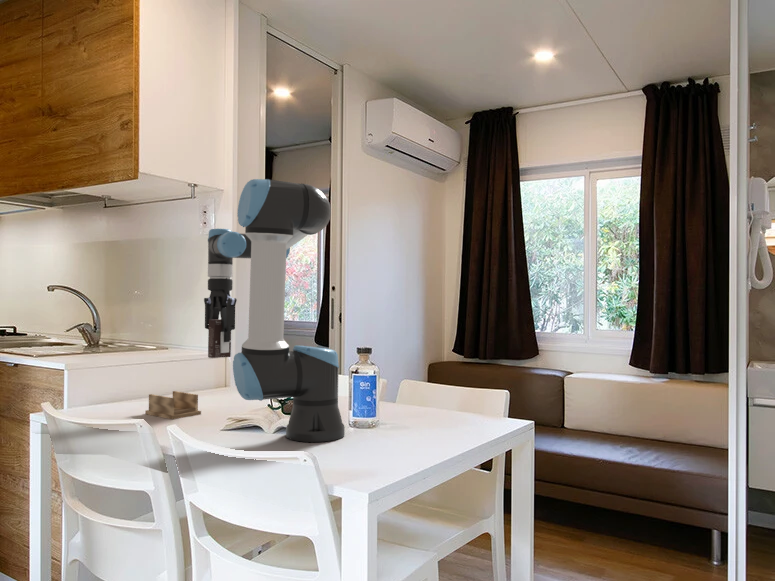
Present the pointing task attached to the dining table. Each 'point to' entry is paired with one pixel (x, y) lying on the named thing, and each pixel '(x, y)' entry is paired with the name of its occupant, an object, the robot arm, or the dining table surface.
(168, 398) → the holder
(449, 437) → the dining table surface
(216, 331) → the box
